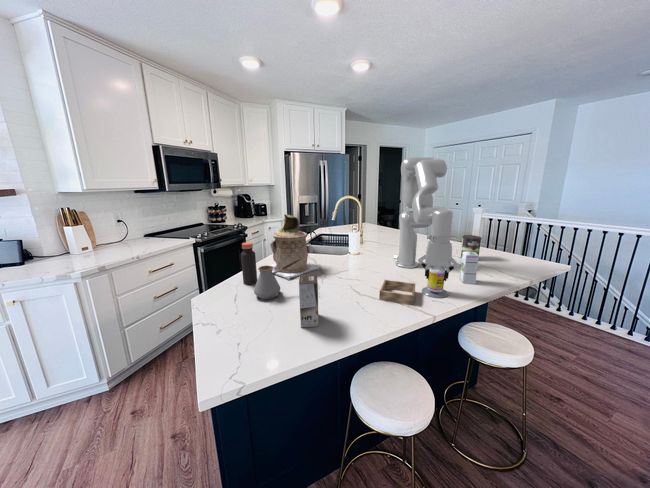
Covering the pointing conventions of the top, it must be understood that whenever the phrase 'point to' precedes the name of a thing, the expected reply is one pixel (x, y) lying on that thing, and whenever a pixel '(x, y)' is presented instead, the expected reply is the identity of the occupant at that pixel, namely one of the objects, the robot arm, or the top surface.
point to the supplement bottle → (436, 279)
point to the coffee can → (470, 244)
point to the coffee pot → (268, 282)
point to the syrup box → (469, 267)
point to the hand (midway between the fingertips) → (436, 278)
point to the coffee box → (308, 300)
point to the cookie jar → (290, 250)
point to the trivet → (435, 293)
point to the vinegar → (248, 264)
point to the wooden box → (397, 296)
